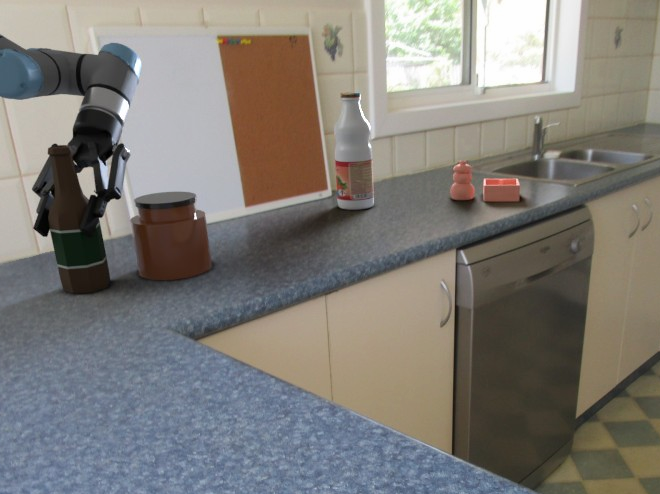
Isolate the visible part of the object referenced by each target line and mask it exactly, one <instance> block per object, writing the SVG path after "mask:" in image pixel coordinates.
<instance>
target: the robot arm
mask: <svg viewBox="0 0 660 494" xmlns="http://www.w3.org/2000/svg"><path fill="white" fill-rule="evenodd" d="M142 66H143V64H142V60H141V59H140V56H139V55H138V53H136V52H135V51H134V50H133V49H132V48H130V47H129V46H127V45H124V44H123V43H118V42H109V43H107V44H104V45H102V47H101V49H100V50H99V51H98V53H97V54H94V53H81V52H72V51H66V50H59V49H51V48H47V47H45V48H43V47H30V48H27V49H26V48H24V47H22V46H20V45H19V44H18V43H15V42H14V41H12V40H11V39H9V38H8V37H6V36H4V35H3V34H2V33H0V97H1V98H3V99H6V100H7V99H8V100H18V101H19V100H20V101H23V100H30V99H32V98H33V99H34V98H39V97H40V98H41V97H49V96H59V95H68V96H79V97H80V96H81V97H83V98H82V100H81V103H80V106H79V109H78V112H77V115H76V117H75V120H74V123H73V127H72V138H71V139H70V140H69V141H68V142H67V144H66V145H68V146H71V148H72V150H73V153H72V157H73V161H74V165H75V168H76V172H77V174H80V173H81V172H82V171H83V170H84V169H85V168H92V170H93V179H94V180H93V181H94V188H95V189H94V190H93V192H94V193H95V194H90V196H89V198H88V199H89V201H88V204H87V207H86V211H85V214H84V217H83V220H82V223H81V226H80V230H81V231H82V232H83V233H84V234H85V235H86V236H88V237H92V238H93V235H94V232H95V229H96V226H97V223H98V219H99V220H100V219H102V218H103V217H104V216H105V212H106V209H107V206H108V203H110V202H111V200H116V201H118V200H120V199H122V195H123V188H124V182H125V175H126V169H127V168H126V167H127V163H128V161H129V159H130V157H131V155H132V153H131V152H130V150H129V149H128V147H126V145H125V144H124V143H123V142H122V143H121V142H120V141H121V138H122V133H123V128H124V127H125V124H126V120H127V117H128V114H129V111H130V107H131V104H132V101H133V98H134V95H135V92H136V89H137V87H138V85H139V83H140V75H141V72H142ZM57 145H58V143H52V144H51V146H57ZM110 158H111V161H110V162H111V163H110V169H109V165H108V160H109V159H110ZM39 172H40V173H39V174H38V176H37V178H36V180H35V181H34V184H33V185H32V187H31V190H32V192H33V193H34V194H35V195H37V196H38V197H39V198H40V199H39V201H38V203H37V207H36V211H35V212H36V214H37V216H36V219H35V222H34V225H33V227H32V229H33V230H34V231H35V232H36V233H38V234H39V235H40V236H41V237H43V238H44V237H45V238H47V237H48V236H49V233H50V228H49V220H48V216H49V210H50V207H51V205H52V203H53V201H54V198H55V186H54V179H53V172H52V165H51V158H50V155H48V157H47V159H46V161H45V163H44V165H43V166H42V169H41V170H40V171H39ZM108 172H109V174H108ZM108 175H109V176H108Z"/></svg>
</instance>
